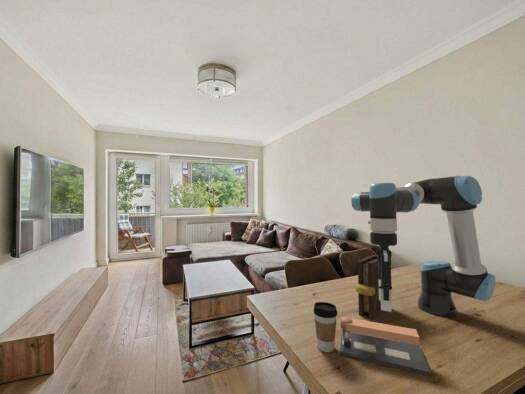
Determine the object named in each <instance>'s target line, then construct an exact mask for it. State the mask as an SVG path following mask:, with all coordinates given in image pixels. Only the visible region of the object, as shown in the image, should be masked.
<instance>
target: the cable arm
mask: <svg viewBox="0 0 525 394" xmlns="http://www.w3.org/2000/svg"><path fill="white" fill-rule="evenodd" d="M339 323H340V328H341V330H342V329H344V330H346V331H350V332H353V333H358V334H363V335H368V336H373V337H378V338H383V339H388V340H394V341H399V342H404V343H409V344H414V345H419V346H420V344H421V343H420V342H421V341H420V336H419V334H418V330H417V329H415V328H409V327H404V326H398V325H392V324H387V323H380V322H376V321H369V320H364V319H363V320H362V319H357V318H353V317H347V316H341V317H340V322H339Z"/></svg>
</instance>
